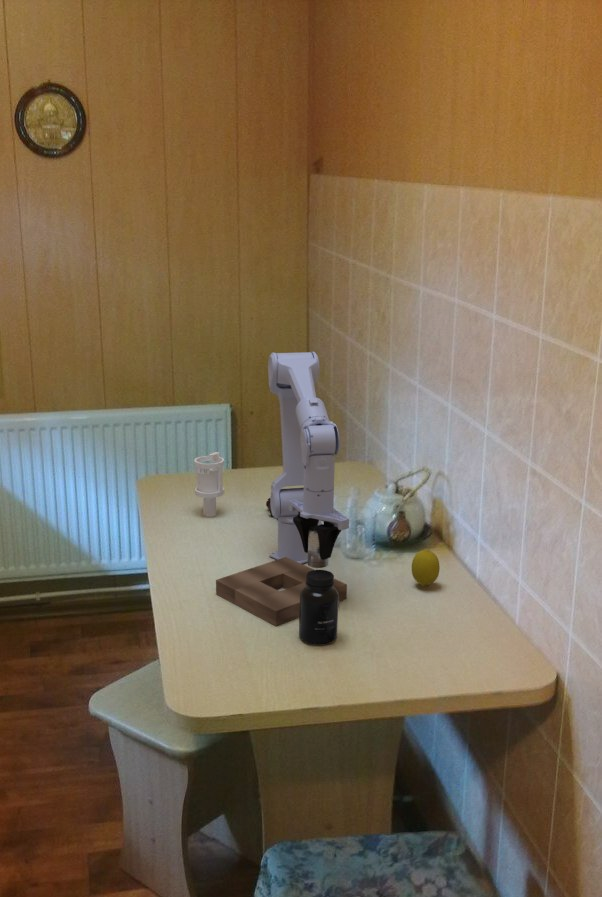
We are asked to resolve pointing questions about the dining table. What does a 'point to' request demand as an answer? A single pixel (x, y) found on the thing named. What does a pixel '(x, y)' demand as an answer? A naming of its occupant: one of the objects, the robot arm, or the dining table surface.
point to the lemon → (425, 567)
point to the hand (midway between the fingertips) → (317, 554)
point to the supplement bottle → (318, 608)
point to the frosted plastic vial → (314, 550)
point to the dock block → (270, 589)
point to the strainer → (209, 481)
